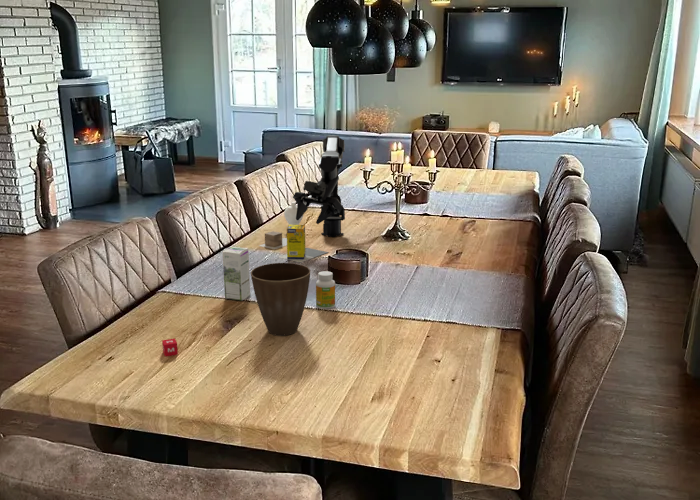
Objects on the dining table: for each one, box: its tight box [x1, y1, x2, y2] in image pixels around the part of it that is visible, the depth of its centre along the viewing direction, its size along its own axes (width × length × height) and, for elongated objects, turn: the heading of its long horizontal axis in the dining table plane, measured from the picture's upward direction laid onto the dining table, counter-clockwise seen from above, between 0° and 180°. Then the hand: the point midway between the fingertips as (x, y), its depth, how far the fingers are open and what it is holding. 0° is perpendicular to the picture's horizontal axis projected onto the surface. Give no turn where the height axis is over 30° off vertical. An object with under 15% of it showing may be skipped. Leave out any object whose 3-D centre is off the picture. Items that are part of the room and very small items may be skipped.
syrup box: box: [222, 246, 251, 302], centre depth 201 cm, size 6×6×14 cm
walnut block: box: [264, 230, 283, 247], centre depth 256 cm, size 4×4×4 cm
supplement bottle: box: [315, 270, 336, 310], centre depth 195 cm, size 5×5×10 cm
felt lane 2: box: [278, 247, 329, 264], centre depth 245 cm, size 16×10×1 cm, turn 143°
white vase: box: [283, 201, 304, 225], centre depth 275 cm, size 8×8×12 cm
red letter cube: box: [161, 338, 179, 357], centre depth 165 cm, size 3×3×3 cm
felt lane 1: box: [258, 237, 287, 250], centre depth 259 cm, size 14×8×1 cm, turn 143°
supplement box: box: [286, 224, 306, 260], centre depth 241 cm, size 6×6×11 cm
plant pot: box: [250, 262, 311, 337], centre depth 177 cm, size 15×15×16 cm
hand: (306, 221), depth 243 cm, fingers open, 9 cm apart
